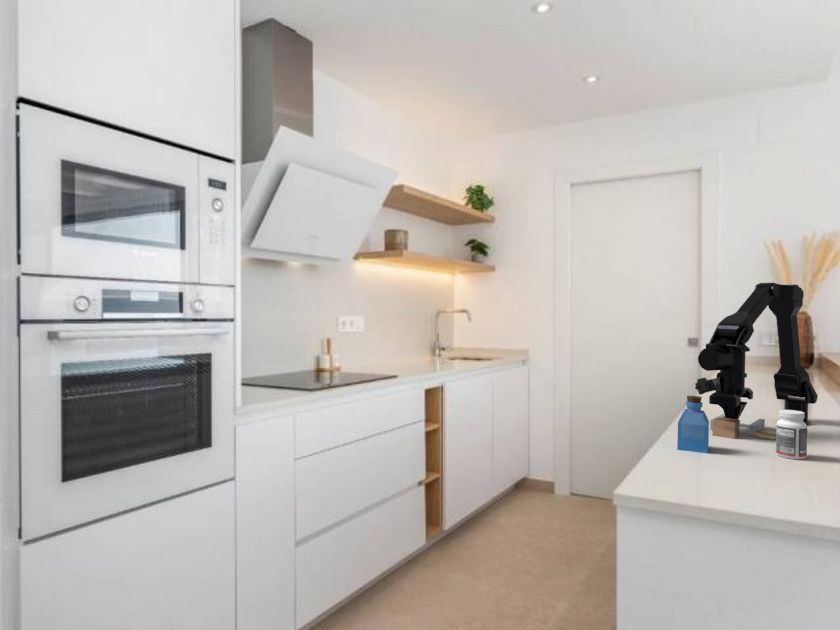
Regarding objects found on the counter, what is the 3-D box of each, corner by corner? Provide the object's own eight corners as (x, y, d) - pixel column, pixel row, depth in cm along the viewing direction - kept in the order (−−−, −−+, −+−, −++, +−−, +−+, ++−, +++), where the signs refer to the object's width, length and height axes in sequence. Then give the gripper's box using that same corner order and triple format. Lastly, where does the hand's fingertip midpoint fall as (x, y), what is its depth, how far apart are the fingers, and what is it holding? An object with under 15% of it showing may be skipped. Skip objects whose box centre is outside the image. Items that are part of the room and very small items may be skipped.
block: (718, 432, 151) (718, 417, 151) (739, 435, 148) (739, 419, 148) (712, 435, 148) (713, 419, 148) (734, 438, 144) (734, 422, 144)
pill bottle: (797, 453, 130) (798, 409, 130) (812, 460, 125) (813, 414, 124) (770, 452, 131) (771, 408, 131) (783, 459, 125) (785, 413, 125)
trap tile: (730, 423, 164) (730, 422, 164) (758, 426, 159) (758, 425, 159) (727, 424, 162) (727, 423, 162) (755, 428, 157) (755, 427, 157)
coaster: (754, 431, 154) (754, 428, 154) (789, 436, 148) (789, 433, 148) (747, 435, 148) (747, 433, 148) (783, 441, 142) (783, 438, 142)
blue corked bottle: (677, 449, 132) (678, 397, 132) (679, 444, 138) (680, 393, 138) (707, 453, 130) (708, 399, 129) (708, 447, 135) (709, 396, 135)
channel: (722, 422, 164) (722, 413, 164) (764, 428, 157) (764, 419, 157) (710, 429, 155) (710, 419, 155) (754, 435, 148) (754, 425, 148)
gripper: (709, 364, 163) (707, 419, 163) (688, 369, 149) (686, 429, 149) (754, 367, 156) (752, 425, 156) (736, 373, 142) (734, 436, 142)
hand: (730, 428), depth 151 cm, fingers closed
